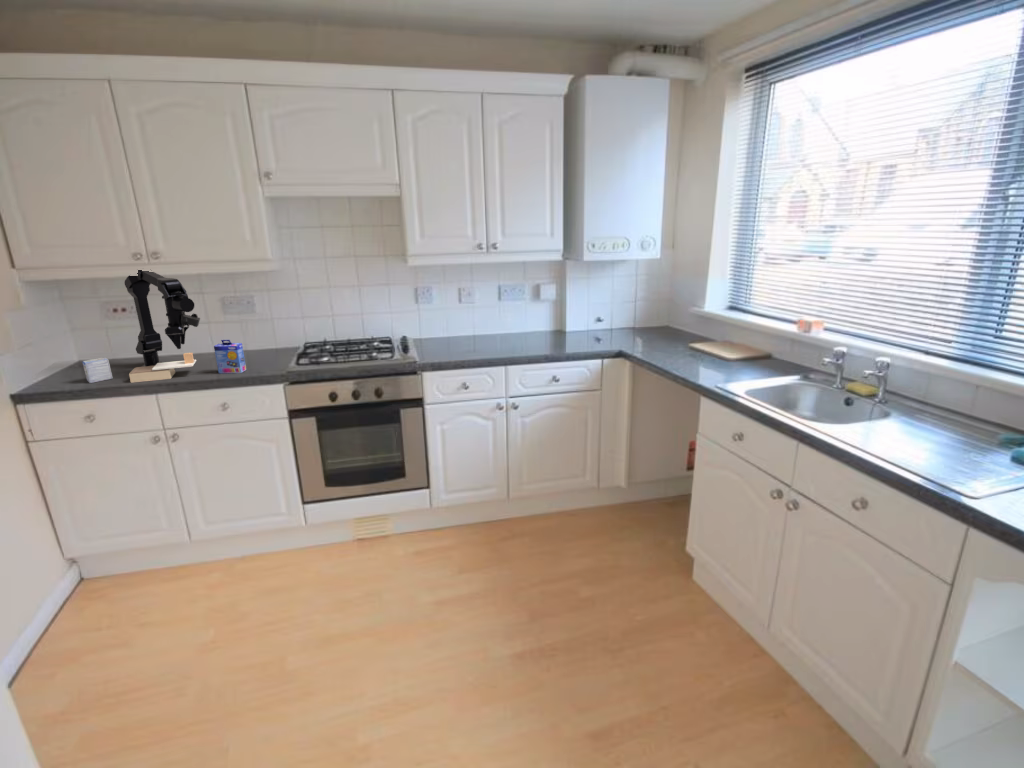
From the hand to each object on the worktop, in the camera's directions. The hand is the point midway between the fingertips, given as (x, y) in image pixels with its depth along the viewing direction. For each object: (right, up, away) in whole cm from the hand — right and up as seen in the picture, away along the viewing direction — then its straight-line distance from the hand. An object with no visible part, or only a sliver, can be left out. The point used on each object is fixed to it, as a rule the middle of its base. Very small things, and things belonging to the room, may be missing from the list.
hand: (181, 346), depth 228 cm
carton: (-9, -13, -4) cm, 17 cm away
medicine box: (-30, -15, -6) cm, 34 cm away
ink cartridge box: (+20, -11, +3) cm, 23 cm away
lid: (-1, -8, -2) cm, 8 cm away
